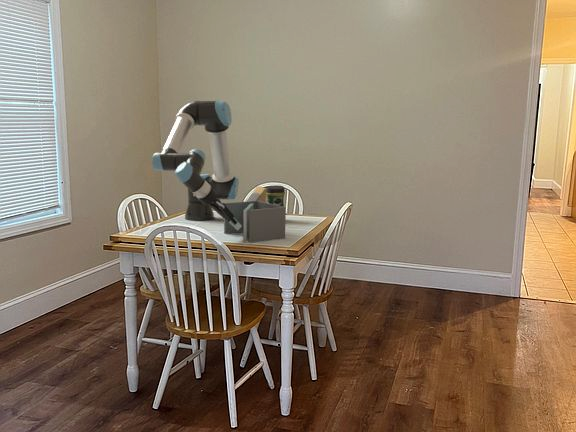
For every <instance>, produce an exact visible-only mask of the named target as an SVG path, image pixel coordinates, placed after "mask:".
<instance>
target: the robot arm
mask: <svg viewBox="0 0 576 432" xmlns="http://www.w3.org/2000/svg"><path fill="white" fill-rule="evenodd" d="M232 119H233V118H232V111H231V107H230V105H229V104H228V103H227V102H226V101H222V100H193V101H191V102H188V103H187V104H185V105H184V106H183V107H181V108H180V110H178V111H177V113H176V115H175V116H174V124H173V126H172V129H171V130H170V132H169V135H168V136H167V139H166V140H165V141H166V142H165V143H164V146H163V148H162V150H161V152H155V153H154V154H153V155H152V156H151V157H152V158H151V165H152V168H153V169H154V170H155V171H162V172H166V171H167V172H174V175H175V177H176V178H177V179H178V180H179V181H180V182H181V183H182V184H183V185H184V186H185V187H186V188H187V207H186V210H185V214H184V219H185V220H189V221H208V220H209V221H210V220H213V219H215V214H214V211H215V212H216V213H217V214H218V215H219V216H220V217H222V219H224V218H225V219H226V220H227V221H228V222H229V223H230V224H231V225H232V226H233V227H234V228H235V229H236V230H239V229H240V228H241V226H242V225H241V224H240V223H239V222H238V221H237V220H236V219H235V218H234V215H233V214H232V213H231V211H230V210H229V209H228V208H227V207H226V205H225V204H224V203H225V202H221V200H226V201H227V200H228V201H229V200H235V199H236V197H237V195H238V190H239V183H240V182H239V178H238V177H236V176H235V172H234V171H232V170H231V169H232V168H231V160H230V154H229V153H230V152H229V143H228V135H227V130H228V129H230V126H231V124H232V122H233V121H232ZM195 126H204V130H205V131H206V132H207V133H208V138H209V144H210V151H211V159H212V164H213V174H212V175H211V174H210V173H205V174H204V173H203V174H202V173H201V172H202V170H203V168H204V166H205V163H206V158H207V157H206V154H205V152H204V151H202V150H201V149H199V148H193V149H191V150H190V151H189V152H188V153H182V149H183V147H184V144H185V142H186V140H187V137H188V135H189V133H190V131H191V130H192V129H193V128H194V127H195Z"/></svg>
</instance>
